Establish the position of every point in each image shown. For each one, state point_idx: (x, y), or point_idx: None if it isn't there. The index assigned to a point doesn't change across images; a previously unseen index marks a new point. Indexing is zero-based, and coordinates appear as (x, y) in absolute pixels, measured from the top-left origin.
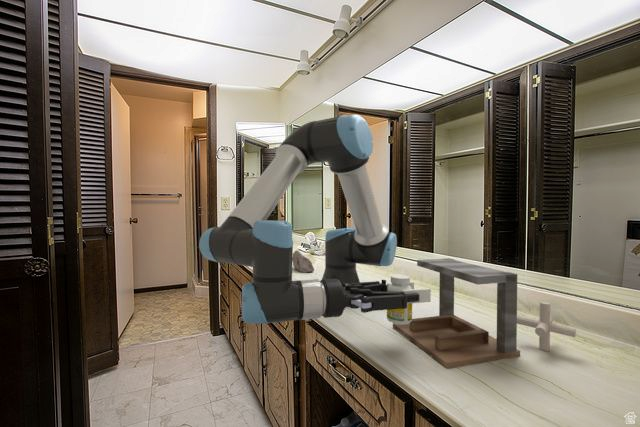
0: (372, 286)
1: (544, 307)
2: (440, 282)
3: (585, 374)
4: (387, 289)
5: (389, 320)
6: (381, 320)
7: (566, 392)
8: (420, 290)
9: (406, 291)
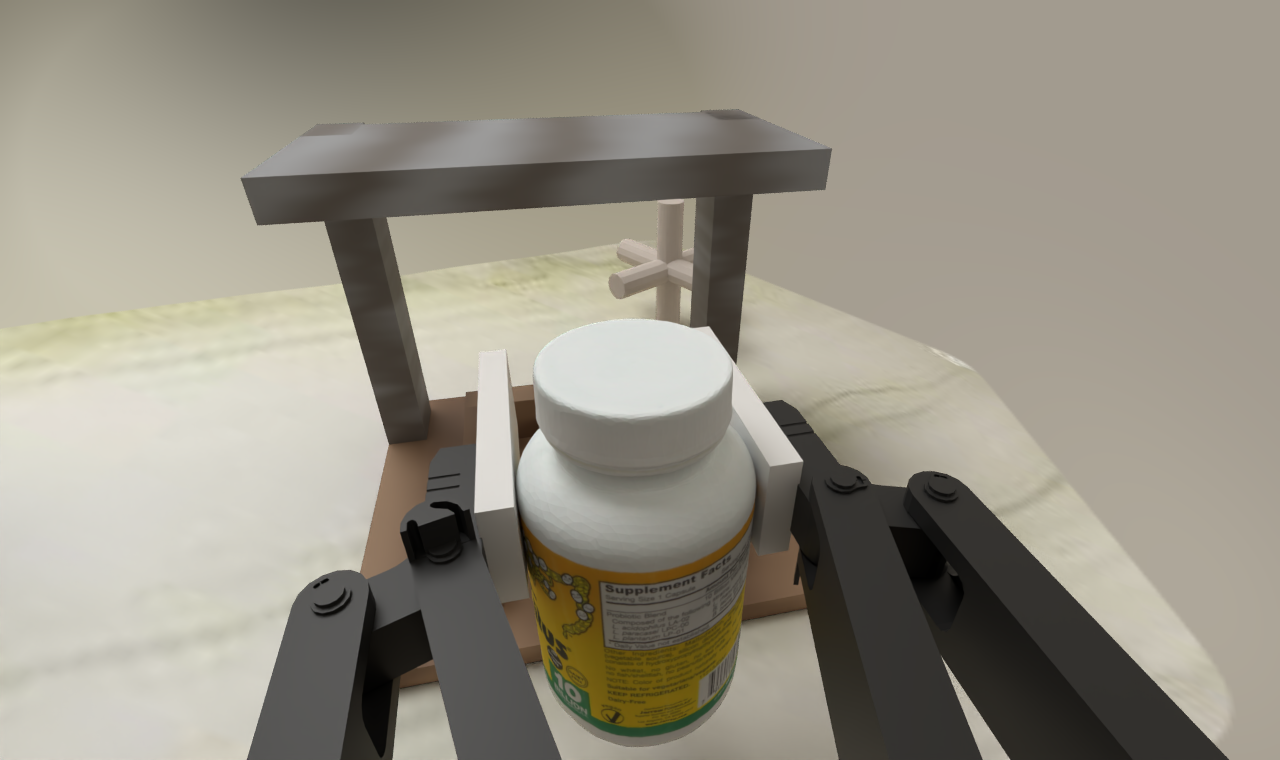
0: (545, 726)
1: (679, 214)
2: (350, 280)
3: (793, 332)
4: (613, 567)
5: (676, 738)
6: (187, 748)
7: (894, 391)
8: (738, 371)
9: (786, 446)
